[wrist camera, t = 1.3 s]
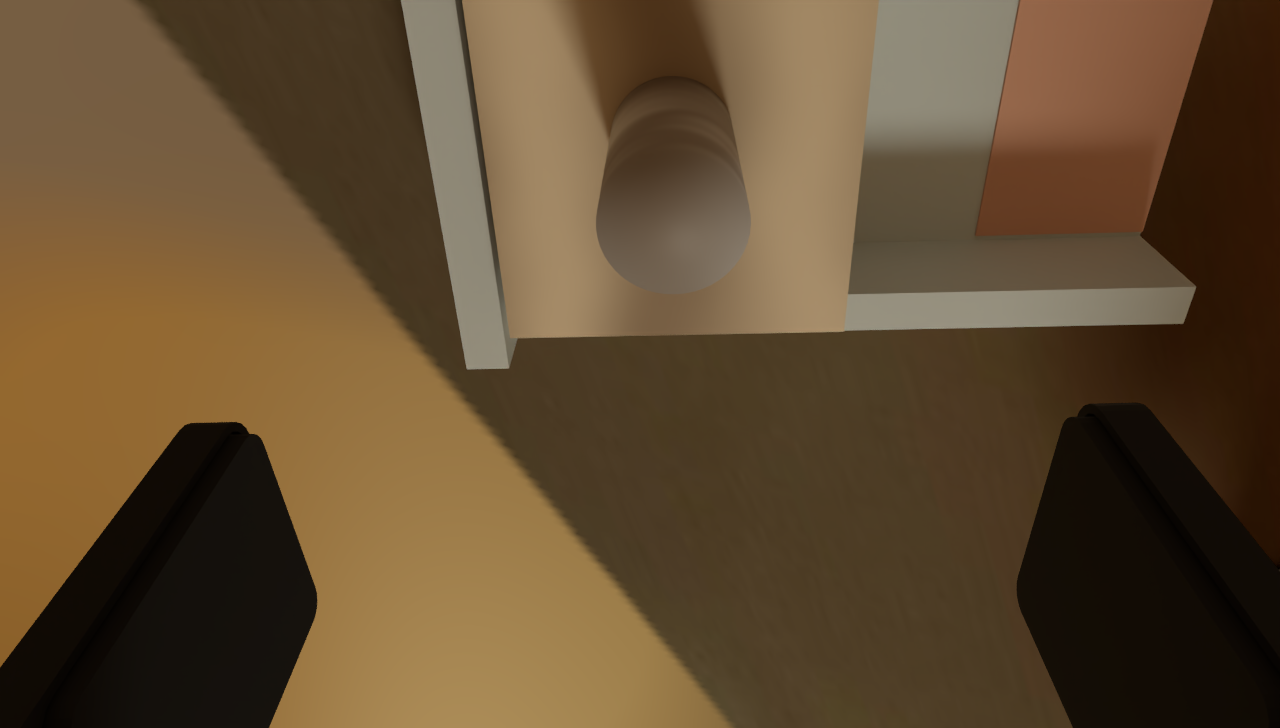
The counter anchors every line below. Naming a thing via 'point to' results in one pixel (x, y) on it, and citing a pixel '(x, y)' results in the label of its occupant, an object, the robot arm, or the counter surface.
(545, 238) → the wooden block with knob
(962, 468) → the counter surface
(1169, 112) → the bay
